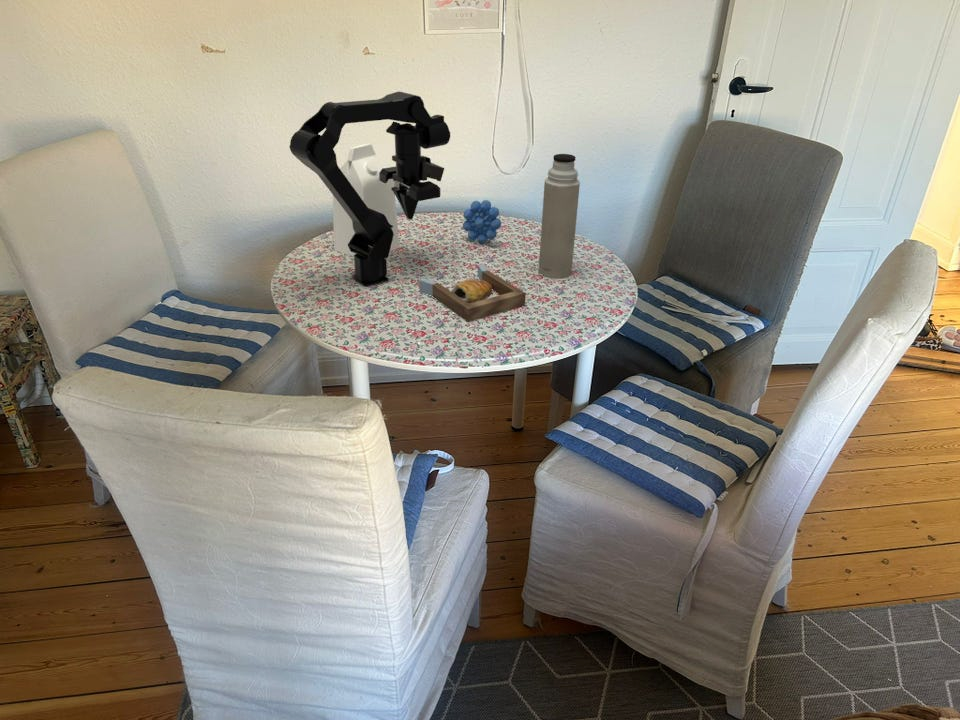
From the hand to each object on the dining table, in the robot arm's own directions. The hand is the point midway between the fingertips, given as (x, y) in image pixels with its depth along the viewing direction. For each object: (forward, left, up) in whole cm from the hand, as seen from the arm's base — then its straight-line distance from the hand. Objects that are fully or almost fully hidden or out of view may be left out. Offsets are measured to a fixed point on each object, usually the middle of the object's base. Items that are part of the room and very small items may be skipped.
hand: (410, 218), depth 169 cm
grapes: (+24, +4, -12) cm, 27 cm away
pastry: (+3, -22, -12) cm, 25 cm away
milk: (-4, +16, -12) cm, 21 cm away
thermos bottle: (+28, -21, -12) cm, 37 cm away
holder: (+3, -23, -12) cm, 26 cm away
